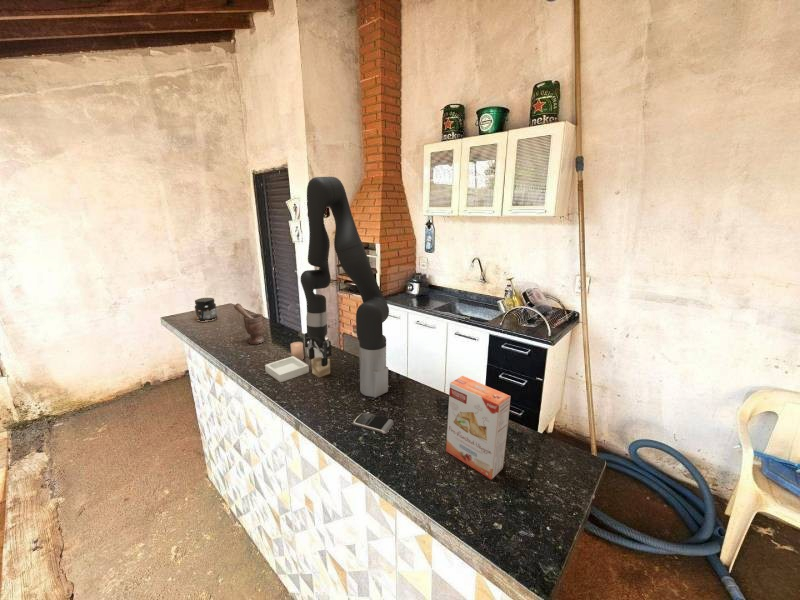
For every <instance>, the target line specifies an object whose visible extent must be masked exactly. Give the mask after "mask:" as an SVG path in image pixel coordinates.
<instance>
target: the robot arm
mask: <svg viewBox="0 0 800 600" xmlns="http://www.w3.org/2000/svg"><path fill="white" fill-rule="evenodd" d="M306 187H307V188H306V202H307V205H306V206H307V218H308V230H309V237H308V238H309V240H308V252H307V263H308V264H309V265H310V266H313V267H317V268H318V269H310V270H304V271H303V272H302V273H301V276H300V284H301V287H302V290H303V293H304V297H305V300H306V320H305V321H306V333H304V348H306V350H307V349H308V351H309V357H308V360H311V359H314V358H315V353H314V348H316V349H317V350H318V352H319V353H320V354H321V364H322V366H323V367H324V366H327V364H328V359H329V358H330V357H332V342H331V340H329V341H326V340H325V337H326V336H327V335H328V313H327V298H326V296H325V295H323V294H319V293H315V292H314V291H315V290H322V289H326V288H328V287H329V286H330V285H331V282H332V281H331V280H332V279H331V274H330V273H331V272H330V266H329V265H330V264H329V257H330V256H329V255H330V254H329V253H330V247H331V245H330V244H331V243H330V238H329V235H328V232H327V229H326V225H325V220H324V219H325V211H326V208H327V207H328V208H329V209H330V210H331V213H332V216H333V219H334V220H333V221H334V225H335V229H334V230H335V231H334V240H333V242H334V243H333V244H334V246H333V247H334V250H335V253H336V256H337V258H338V261H339V264H340V267H341V268H342V270H343V271H344V273H345V274H346V275H347V276H348V278H349V279H351V281H352V283H354V285H355V286H356V288H357V289H358V292H359V295H360V297H361V299H362V303H361V304H360V305H359V306H357V309H356V313H355V326H356V327H355V328H356V337H357V339H358V342H359V343H358V344H359V347H358V348H359V383H360V384H359V388H360V389H359V391H360V393H361V394H362V395H364V396H367V397H372V398H375V399H376V398H378V397H380V396H382V395H384V394H385V393H388V392H389V367H388V366H387V338H386V336H385V335H384V334H383V332H384V331H383V323H384V322H385V321H386V320H387V319H388V317H389V315H390V309H389V304H388V302H387V301H386V299H385V296H384V294H383V293H382V292H383V291H381V288H380V287H379V284H378V282H377V280H376V278H375V274H374V271H373V269H372V265H371V264H370V261H369V258H368V254H367V251H366V249H365V247H364V244H363V242H362V239H361V237H360V234H359V231H358V229H357V226H356V223H355V220H354V217H353V214H352V211H351V207H350V202H349V200H348V196H347V192H346V189H345V186H344V184H343V183H342V181H341V180H340V179H339V178H338V177H335V176H315V177H311V179H310V180H309V182H308V184H307V186H306ZM308 341H309V343H308V344H307V342H308ZM323 347H324V349H321V348H323ZM323 351H324V354H323ZM327 351H328V352H327Z"/></svg>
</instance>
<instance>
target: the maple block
mask: <svg viewBox="0 0 800 600" xmlns="http://www.w3.org/2000/svg"><path fill="white" fill-rule="evenodd" d="M310 360H311V374H312V375H315V377H318V378H319V379H320V378H322V377H325V376H327V375H330V374H331V360H330V358H328V364H327V366H324V367H323V366H322V364H321V356H320V357H317V358H314V359H310Z"/></svg>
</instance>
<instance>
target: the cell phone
mask: <svg viewBox="0 0 800 600" xmlns="http://www.w3.org/2000/svg"><path fill="white" fill-rule="evenodd" d="M353 424H354V426H356V427H359V428H363V429H366V430H371V431H372V432H376V433H380V434H388V432H389V430H390V429H391V428H392V426H393V425H394V420H393V419H390V418H387V417H384V416H379V415H376V414H372V413H368V412H362V413H360V414H359V415H358V416H356V418H355V419H354V421H353Z"/></svg>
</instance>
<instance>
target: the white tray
mask: <svg viewBox="0 0 800 600" xmlns="http://www.w3.org/2000/svg"><path fill="white" fill-rule="evenodd" d="M309 367H310V366H309V364H307V363H306V362H304V361H303V360H302V361H301V360H299V359H297V358H295V357H294V356H292V357H291V356H289V357H286V358H284V359H283V358H282V359H280V360H276V361H273V362H270V363H267V364H265V365H264V368H265V373H266V374H268V375H269V376H270V377H272V378H273V379H275V380H276V381H277V382H279V383H283V382H286V381H288V380H291V379H295V378H296V377H300V376H303V375H305V374H308V373H310V368H309Z"/></svg>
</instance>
